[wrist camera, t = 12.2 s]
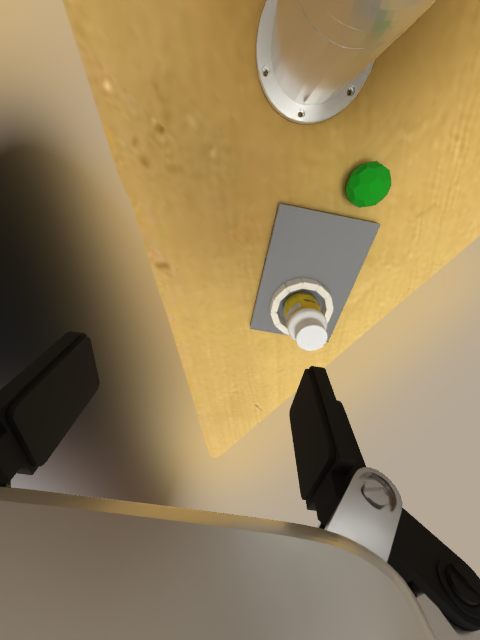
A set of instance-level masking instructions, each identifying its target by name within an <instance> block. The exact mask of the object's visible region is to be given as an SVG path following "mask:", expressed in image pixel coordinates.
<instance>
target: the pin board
mask: <svg viewBox="0 0 480 640" xmlns="http://www.w3.org/2000/svg"><path fill="white" fill-rule="evenodd" d="M380 225H381V224H378V223H375V222H371V221H366V220H361V219H356V218H351V217H346V216H341V215H336V214H331V213H327V212H322V211H317V210H312V209H307V208H302V207H297V206H292V205H287V204H283V203H279V204H278V208H277V213H276V217H275V221H274V225H273V230H272V234H271V238H270V242H269V247H268V251H267V255H266V259H265V263H264V268H263V272H262V276H261V280H260V285H259V289H258V293H257V297H256V302H255V306H254V310H253V314H252V318H251V323H250V329H255V330H261V331H266V332H272V333H278V334H284V335H289V336H290V334H289V332H288V329H287V324H286V320H285V316H284V312H283V302H284V300H285V298H286V297H287V296H288V295H289V294H291V293H293V292H295V291H300V290H302V291H307V292H309V293H311V294H312V295H313V296H314V297H315V299H316V301H317V303H318V305H319V307H320V308H321V310H322V312H323V314H324V316H325V318H326V321H327V329H326V332H327V341H326V342H328V341H329V339H330V336H331V334H332V332H333V330H334V328H335V325H336V323H337V321H338V319H339V316H340V314H341V312H342V310H343V307H344V305H345V303H346V301H347V298H348V296H349V294H350V292H351V289H352V287H353V285H354V283H355V280H356V278H357V276H358V274H359V272H360V269H361V267H362V265H363V263H364V260H365V258H366V256H367V254H368V251H369V249H370V247H371V245H372V242H373V240H374V238H375V236H376V233H377V231H378V229H379V227H380Z"/></svg>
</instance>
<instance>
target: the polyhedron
mask: <svg viewBox="0 0 480 640" xmlns="http://www.w3.org/2000/svg"><path fill="white" fill-rule="evenodd" d="M390 187H391V176H390V171H389V170H388V169H387V168H386V167H384V166H383V165H382V164H380V163H378V162H377V161H376V162H369V163H365V164H362V165H360V166H359V167H357V168H356V169H355V170H354V171H353V172H352V174H351V175H350V177H349V180H348V182H347V185H346V195H347V199H348V200H349V201H350V202H352V203H353V204H354V205H356V206H357V207H366V206H373V205H376V204H377V203H378V202H380V201H381V200H382V199H383V198H384V197H385V196H386V195H387V194H388V191H389V189H390Z"/></svg>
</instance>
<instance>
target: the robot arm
mask: <svg viewBox="0 0 480 640" xmlns="http://www.w3.org/2000/svg"><path fill="white" fill-rule="evenodd" d="M435 1H436V0H266V2H265V5H264V8H263V11H262V13H261V17H260V22H259V26H258V31H257V41H256V63H257V71H258V77H259V80H260V84H261V87H262V90H263V92H264V94H265V96H266V98H267V100H268V101H269V103H270V104H271V106H272V107H273V108H274V109H275V110H276V111H277V112H278V113H279V114H280V115H281V116H282V117H284V118H286V119H287V120H289V121H291V122H295V123H298V124H315V123H320V122H323V121H325V120H327V119H330V118H332V117H333V116H335V115H336V114H338V113H339V112H341V111H342V110H343V109H344V108H345V107H347V106H348V105H349V104H350V103H351V102H352V100H353V99H354V98H355V97H356V96H357V95H358V93H359V92H360V90H361V89H362V87H363V85H364V84H365V82H366V80H367V78H368V76H369V74H370V72H371V70H372V68H373V65H374V62H375V59H376V58H377V57H378V56H379V55H380V54H381V53H383V52H384V51H385V50H386V49H387V48H388V47H389V46H390V45H391V44H392V43H393V42H394V41H395V40H396V39H397V38H398V37H400V36H401V35H402V34H403V33H404V32H405V31H406V30H407V29H408V28H409V27H410V26H411V25H412V24H413V23H414V22H415V21H417V19H418V18H419V17H420V16H421V15H422V14H423V13H424V12H425V11H427V10H428V9H429V8H430V7H431V6H432V5H433V3H434V2H435ZM265 71H266V72H267V73H268V75H267V76H266V77H265V76H264V75H263V73H264V72H265ZM347 91H350V96H348V95H347ZM299 112H301V113H302V117H298V113H299ZM98 387H99V378H98V373H97V368H96V364H95V360H94V354H93V350H92V345H91V341H90V338H89V337H87V336H86V334H85V333H80V332H72V331H70V332H67V333H66V334H65V335H63V336H62V337H61V338H60V339H59V340H58V341H56V342H55V343H54V344H53V345H52V346H51V347H50V348H48V349H47V350H46V351H45V352H44V353H43V354H41V355H40V356H39V357H38V358H37V359H36V360H35V361H33V362H32V363H31V364H30V365H29V366H28V367H26V368H25V369H24V370H23V371H22V372H21V373H20V374H18V375H17V376H16V377H15V378H14V379H13V380H12V381H10V382H9V383H8V384H7V385H6V386H5V387H3V388H2V389H1V390H0V640H480V579H479V577H478V576H477V575H476V573H475V572H474V571H473V570H472V569H471V568H470V567H469V566H468V565H467V564H466V563H465V562H464V561H463V560H462V559H461V558H459V557H458V556H457V555H456V554H455V553H454V552H453V551H451V550H450V549H449V548H448V547H447V546H446V545H444V544H443V543H442V542H441V541H440V540H439V539H438V538H437V537H435V536H434V535H433V534H432V533H431V532H430V531H428V530H427V529H426V528H425V527H424V526H423V525H422V524H421V523H419V522H418V521H417V520H416V519H415V518H414V517H413V516H411V515H410V514H409V513H408V512H407V511H406V510H404V509H403V508H402V500H401V496H400V494H399V492H398V490H397V488H396V487H395V485H394V484H393V483H392V482H391V481H390V480H389V479H388V478H387V477H386V476H385V475H384V474H382V473H381V472H379V471H378V470H375V469H372V468H368V467H366V465H365V463H364V460H363V457H362V455H361V452H360V449H359V447H358V444H357V442H356V439H355V436H354V434H353V431H352V428H351V426H350V423H349V420H348V418H347V415H346V413H345V410H344V407H343V405H342V403H341V402H340V401H337V400H336V398H335V395H334V392H333V389H332V386H331V384H330V381H329V378H328V376H327V373H326V370H325V368H321V367H314V366H311V367H310V368H309V369H305V371H304V374H303V376H302V379H301V382H300V384H299V387H298V390H297V392H296V395H295V398H294V400H293V403H292V405H291V408H290V423H291V430H292V437H293V443H294V451H295V458H296V465H297V472H298V479H299V485H300V493H301V497H302V499H303V500H306V504H307V509H308V510H314V511H317V516H318V520H319V521H320V523H319V525H318V527H317V528H316V527H311V526H306V525H301V524H296V523H289V522H282V521H275V520H269V519H262V518H256V517H248V516H240V515H233V514H224V513H217V512H209V511H201V510H193V509H185V508H178V507H170V506H162V505H154V504H146V503H138V502H130V501H121V500H113V499H105V498H97V497H88V496H80V495H72V494H63V493H54V492H46V491H37V490H29V489H19V488H11V479H12V478H13V477H14V475H15V474H16V473H20V474H28V475H33V474H34V472H35V471H36V469H37V468H38V467H39V466H42V465H43V464H44V463H45V462H46V461H47V460H48V458H49V457H50V456H51V454H52V453H53V451H54V450H55V448H56V447H57V446H58V444H59V443H60V442H61V440H62V439H63V437H64V436H65V434H66V433H67V432H68V430H69V429H70V428H71V426H72V425H73V423H74V422H75V421H76V419H77V418H78V416H79V415H80V414H81V412H82V411H83V409H84V408H85V407H86V405H87V404H88V402H89V401H90V400H91V398H92V397H93V395H94V394H95V393H96V391H97V390H98Z"/></svg>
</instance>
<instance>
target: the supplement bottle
mask: <svg viewBox="0 0 480 640" xmlns="http://www.w3.org/2000/svg"><path fill="white" fill-rule="evenodd" d="M283 312H284V316H285V320H286V324H287V329H288V332H289V334H290V336H291V337H292V338H293V339H294V340H295V341H296V342H297V344H298V346H299V347H300V348H302V349H304V350H307V351H313V350H317V349H319V348H321V347H322V346H323V345H324V344H325V343H326V341H327V332H326V329H327V321H326V318H325V316H324V314H323V312H322V310H321V308H320V307H319V305H318V303H317V301H316V299H315V297H314V296H313V295H312V294H311V293H309V292H307V291H302V290H300V291H295V292H293V293H291V294H289V295H288V296H287V297H286V298H285V300H284V302H283Z"/></svg>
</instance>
